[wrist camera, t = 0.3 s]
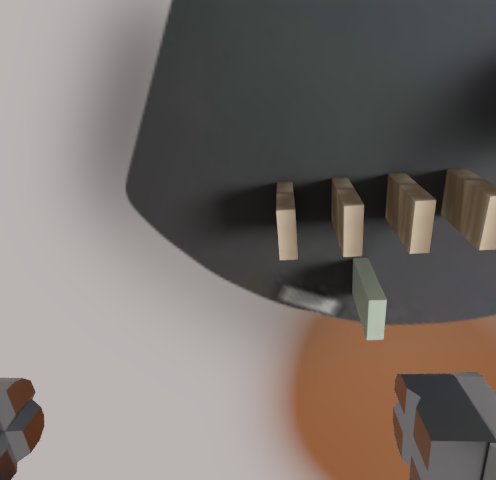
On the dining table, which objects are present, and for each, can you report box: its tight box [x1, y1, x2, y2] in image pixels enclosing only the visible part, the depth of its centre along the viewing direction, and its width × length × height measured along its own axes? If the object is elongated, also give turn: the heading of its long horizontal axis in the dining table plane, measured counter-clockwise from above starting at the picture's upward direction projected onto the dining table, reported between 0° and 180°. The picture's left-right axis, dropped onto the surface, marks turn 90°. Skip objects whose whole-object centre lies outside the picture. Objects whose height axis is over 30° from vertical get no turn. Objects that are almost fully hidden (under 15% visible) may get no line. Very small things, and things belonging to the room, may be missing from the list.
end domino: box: [352, 258, 387, 340], centre depth 47 cm, size 2×6×10 cm, turn 7°
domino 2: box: [332, 177, 364, 257], centre depth 42 cm, size 2×6×10 cm, turn 6°
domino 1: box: [276, 181, 298, 260], centre depth 43 cm, size 2×6×10 cm, turn 6°
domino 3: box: [385, 173, 436, 254], centre depth 41 cm, size 2×6×10 cm, turn 6°
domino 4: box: [441, 168, 496, 250], centre depth 40 cm, size 2×6×10 cm, turn 6°
